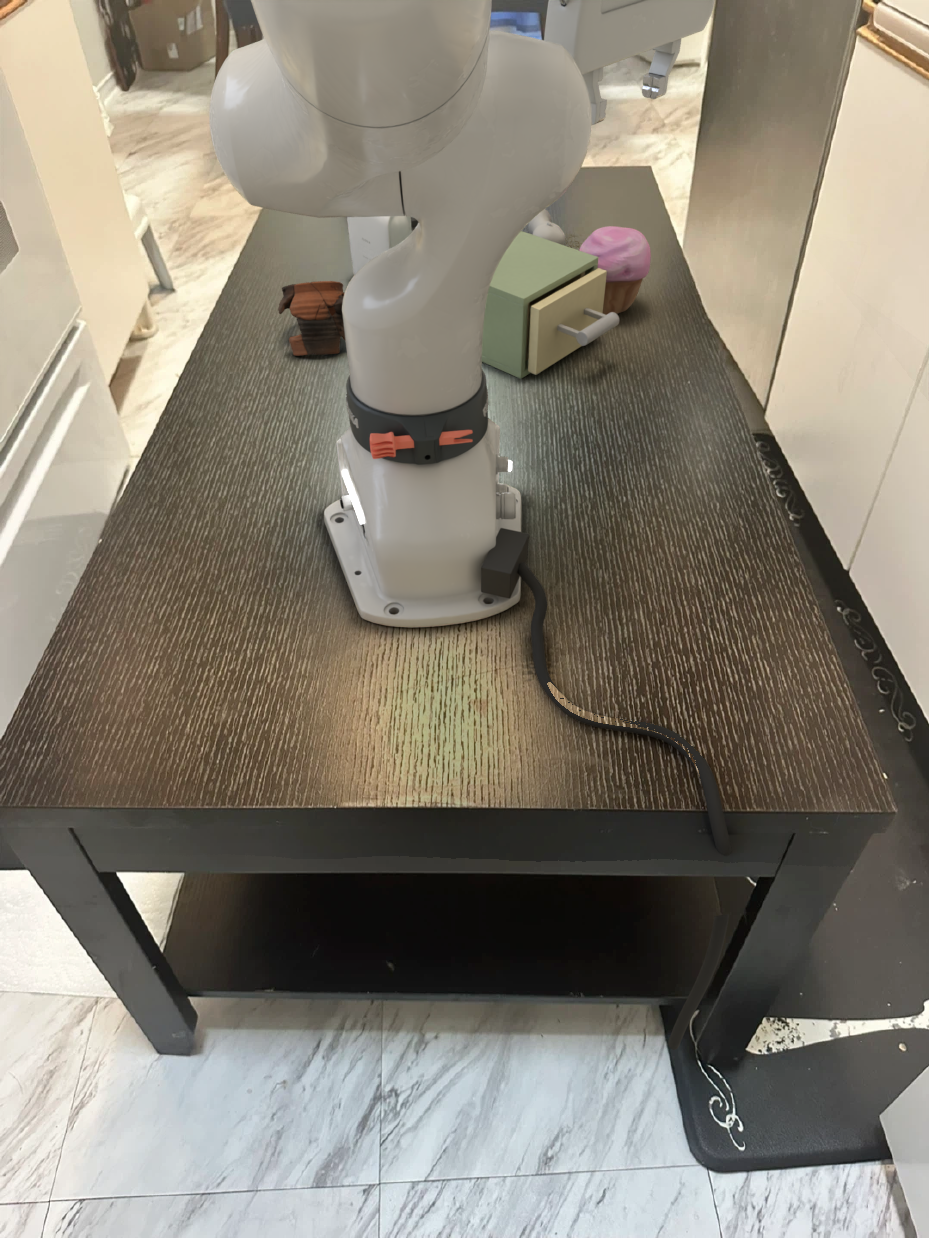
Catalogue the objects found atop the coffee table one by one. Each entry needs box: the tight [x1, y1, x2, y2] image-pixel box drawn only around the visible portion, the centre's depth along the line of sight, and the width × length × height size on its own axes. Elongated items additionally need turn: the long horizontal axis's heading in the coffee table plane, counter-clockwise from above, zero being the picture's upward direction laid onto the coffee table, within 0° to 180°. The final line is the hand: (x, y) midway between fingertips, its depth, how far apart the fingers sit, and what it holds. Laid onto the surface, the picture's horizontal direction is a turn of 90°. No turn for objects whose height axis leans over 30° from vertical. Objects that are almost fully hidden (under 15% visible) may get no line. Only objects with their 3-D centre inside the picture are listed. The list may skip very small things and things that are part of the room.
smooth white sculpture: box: [527, 208, 566, 246], centre depth 125 cm, size 4×8×5 cm
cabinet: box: [482, 230, 599, 380], centre depth 105 cm, size 17×14×10 cm
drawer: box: [526, 268, 620, 376], centre depth 103 cm, size 20×12×8 cm, turn 48°
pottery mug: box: [277, 280, 346, 357], centre depth 106 cm, size 12×10×8 cm
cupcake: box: [579, 225, 652, 315], centre depth 109 cm, size 9×9×10 cm
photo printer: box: [346, 215, 412, 276], centre depth 113 cm, size 10×4×12 cm, turn 39°
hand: (623, 109), depth 80 cm, fingers open, 8 cm apart
